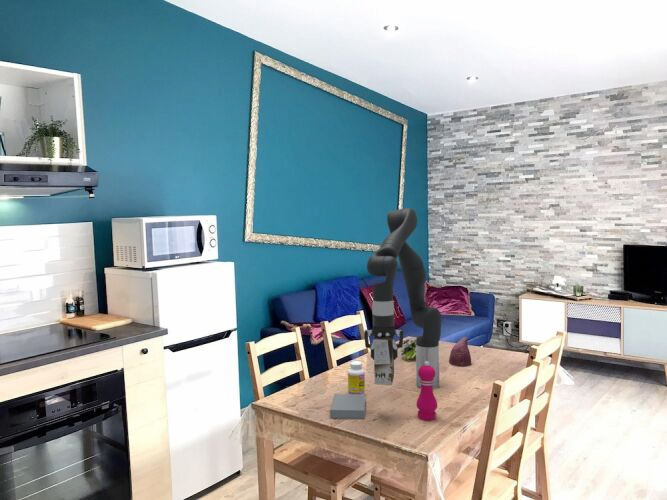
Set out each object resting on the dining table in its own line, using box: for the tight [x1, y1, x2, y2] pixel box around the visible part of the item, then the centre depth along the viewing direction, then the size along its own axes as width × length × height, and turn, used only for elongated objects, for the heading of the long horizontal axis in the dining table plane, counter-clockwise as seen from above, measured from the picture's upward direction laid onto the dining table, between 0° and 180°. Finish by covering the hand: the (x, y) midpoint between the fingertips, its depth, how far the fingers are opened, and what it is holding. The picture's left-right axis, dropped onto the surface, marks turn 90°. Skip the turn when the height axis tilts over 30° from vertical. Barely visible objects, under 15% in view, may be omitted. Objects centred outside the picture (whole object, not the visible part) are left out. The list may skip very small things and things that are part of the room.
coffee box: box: [373, 336, 395, 386], centre depth 179 cm, size 9×6×16 cm
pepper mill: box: [416, 361, 438, 421], centre depth 178 cm, size 7×7×20 cm
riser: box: [329, 393, 367, 420], centre depth 187 cm, size 12×16×3 cm
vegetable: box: [448, 336, 472, 368], centre depth 241 cm, size 10×10×15 cm
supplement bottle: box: [347, 360, 366, 394], centre depth 202 cm, size 7×7×13 cm
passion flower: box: [400, 339, 416, 361], centre depth 251 cm, size 11×11×12 cm
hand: (384, 359), depth 179 cm, fingers closed on coffee box, 6 cm apart
